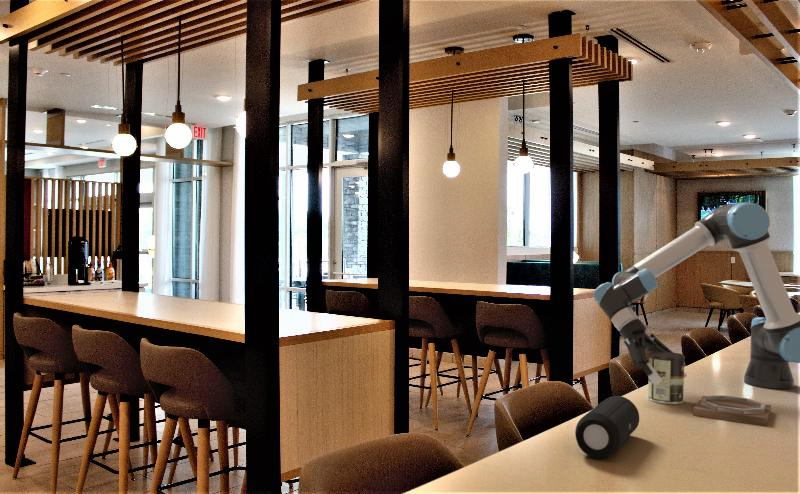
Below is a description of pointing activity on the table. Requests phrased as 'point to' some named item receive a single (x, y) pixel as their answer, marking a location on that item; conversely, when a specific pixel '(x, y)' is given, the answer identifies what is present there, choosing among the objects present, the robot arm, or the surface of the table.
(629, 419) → the portable speaker
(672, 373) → the coffee can
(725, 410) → the collar board
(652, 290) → the robot arm
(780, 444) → the table surface
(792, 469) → the table surface
